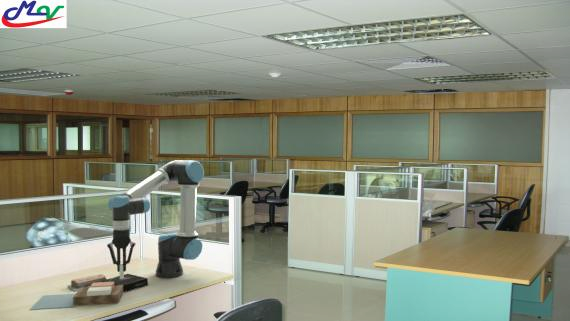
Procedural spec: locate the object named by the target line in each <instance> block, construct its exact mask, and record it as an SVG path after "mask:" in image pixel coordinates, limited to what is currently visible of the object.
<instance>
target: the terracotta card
mask: <svg viewBox="0 0 570 321" xmlns="http://www.w3.org/2000/svg"><path fill="white" fill-rule="evenodd" d="M108 286H112V289H113V288H114V282H97V283H93V284H92V285H91V286H90V287H108Z"/></svg>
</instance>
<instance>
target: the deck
mask: <svg viewBox="0 0 570 321" xmlns="http://www.w3.org/2000/svg"><path fill="white" fill-rule="evenodd" d="M89 288H91V287H82V288H80V289H79V290H78V291H76V293H74V294H75V295H74V297H73V307H76V306H92V305H93V304H94V305H106V304H107V305H108V304H110V305H111V304H119V303H120V301H121V299H122V296H123V294H124V293H123V285H117V286H114V288H113V289H112V291H111V293H110V295H97V296H87V291H88V289H89Z"/></svg>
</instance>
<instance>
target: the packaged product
mask: <svg viewBox="0 0 570 321" xmlns="http://www.w3.org/2000/svg"><path fill="white" fill-rule="evenodd" d="M106 279H107V277H106V275H104V274H101V273H100V274H95V275H89V276H84V277H81V278H80V277H79V278H76V279H72V280H71V281H70V283H71V284H68V285H67V284H66V286H67V289H69V290H71V291H73V292H74V293H75V292H76V293H77V291H78V290H79V289H80V288H82V287H90V286H91V285H92V284H93V283H97V282H101V281H103V280H106Z"/></svg>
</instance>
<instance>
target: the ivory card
mask: <svg viewBox="0 0 570 321" xmlns="http://www.w3.org/2000/svg"><path fill="white" fill-rule="evenodd" d="M111 291H112V286H108V287H91V288H89V289H88V291H87V296H97V295H110V293H111Z"/></svg>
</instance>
